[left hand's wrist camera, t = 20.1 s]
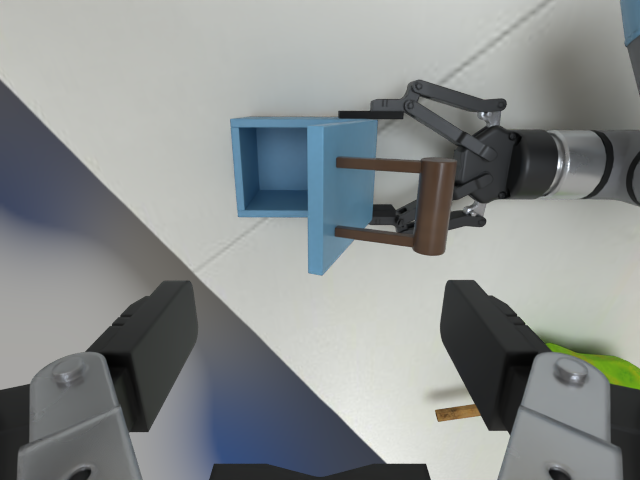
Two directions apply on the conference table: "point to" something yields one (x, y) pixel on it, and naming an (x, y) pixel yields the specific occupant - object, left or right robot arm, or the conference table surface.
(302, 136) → the chest
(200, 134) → the conference table surface
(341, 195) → the blue box lid
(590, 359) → the decorative tree
